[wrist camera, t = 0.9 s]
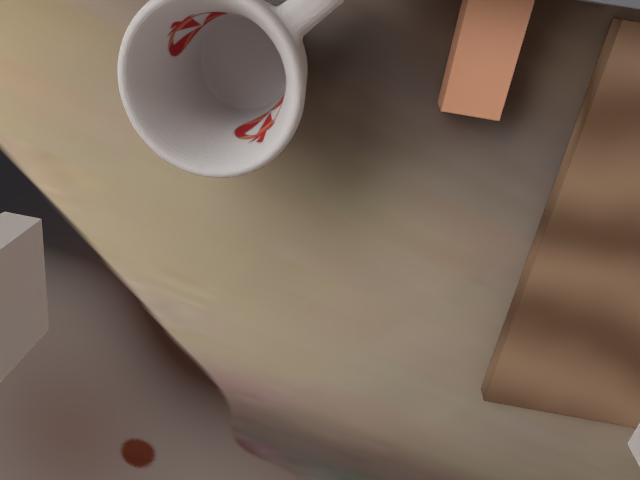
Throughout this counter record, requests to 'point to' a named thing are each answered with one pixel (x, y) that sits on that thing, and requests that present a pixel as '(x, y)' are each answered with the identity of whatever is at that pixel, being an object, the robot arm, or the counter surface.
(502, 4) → the grey rectangular frame block
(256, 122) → the cup
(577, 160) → the post board
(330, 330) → the counter surface
